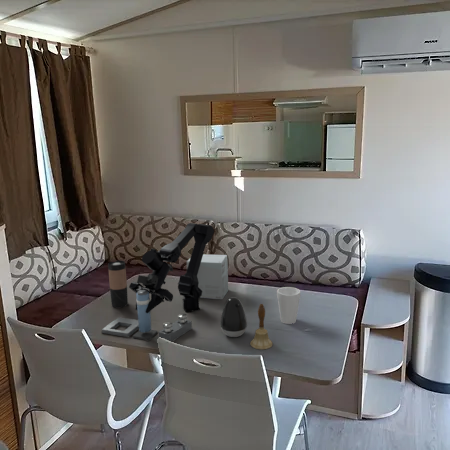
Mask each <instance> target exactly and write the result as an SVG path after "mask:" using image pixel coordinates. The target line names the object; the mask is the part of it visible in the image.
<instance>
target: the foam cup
mask: <svg viewBox="0 0 450 450" xmlns="http://www.w3.org/2000/svg"><path fill="white" fill-rule="evenodd" d="M276 297H277V302H278V311H279V319H280V323H283V324H285V325H293V324H295V323H296V322H297V318H298V312H299V306H300V305H299V304H300V299H301V290H300V289H299V288H296V287H293V286H285V287H280V288H278V289H277V290H276ZM292 323H293V324H292Z"/></svg>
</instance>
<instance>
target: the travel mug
mask: <svg viewBox="0 0 450 450" xmlns="http://www.w3.org/2000/svg"><path fill="white" fill-rule="evenodd" d="M107 268H108V280H109V293H110V300H111V301H110V302H111V307H113V308H124V307H126V306H127V305H128V303H129V302H128V301H129V300H128V283H127V282H128V281H127V271H126V261H124V260H115V261H110V262H108V263H107Z"/></svg>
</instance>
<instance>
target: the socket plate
mask: <svg viewBox="0 0 450 450" xmlns="http://www.w3.org/2000/svg"><path fill="white" fill-rule="evenodd" d="M120 326H121V327H127V328H126V329H124V330H120V329H117V328H118V327H120ZM137 330H139V324H138V319H133V318H127V317H121V316H118V317H117V318H115V319H114V320H113V321H111V322H109V323H108V324H107V325H105V326H104V327H103V328H101V334H108V335H112V336H113V335H114V336H118V337H125V338H129V337H130V336H131V335H134V334H135V333H136V331H137Z"/></svg>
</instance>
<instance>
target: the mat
mask: <svg viewBox="0 0 450 450" xmlns="http://www.w3.org/2000/svg"><path fill="white" fill-rule="evenodd" d="M158 332H159V331H158V330H155V329H151V330H150V331H148V332H140V331H139V330H138V331H137V332H135V333H133V334H132V338H133V339H137V340H138V339H139V340H144V341H150V340H152V338H154V336H156V335H157V334H159V333H158Z"/></svg>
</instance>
